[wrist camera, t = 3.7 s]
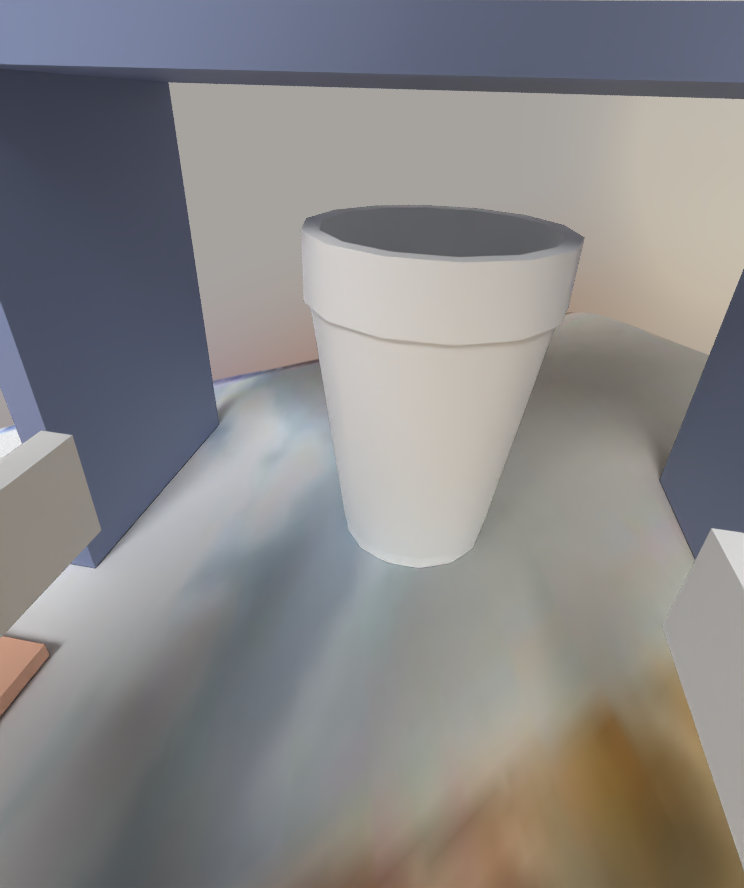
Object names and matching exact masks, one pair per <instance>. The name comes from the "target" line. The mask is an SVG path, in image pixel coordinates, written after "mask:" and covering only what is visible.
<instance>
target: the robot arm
mask: <svg viewBox="0 0 744 888" xmlns="http://www.w3.org/2000/svg"><path fill="white" fill-rule="evenodd" d="M100 531H101V527H100V524H99V520H98V517H97V514H96V511H95V507H94V504H93V501H92V498H91V494H90V491H89V488H88V484H87V481H86V478H85V475H84V471H83V468H82V465H81V462H80V458H79V455H78V452H77V448H76V445H75V442H74V439H73V435H68V434H61V433H54V432H48V431H40V432H38V433H37V434H36V435H34V436H33V437H31V438H30V439H28V440H27V441H26V442H24V443H23V444H21V445H20V446H18V447H17V448H16V449H14V450H13V451H11V452H10V453H9V454H7V455H6V456H4V457H3V458H1V459H0V638H1V637H2V636H3V635H4V634H5V633H6V632H7V631H8V630H9V628H10V627H11V626H12V625H13V624H14V623H15V622H16V621H17V620H18V619H19V618H20V617H21V616H22V615H23V614H24V612H25V611H26V610H27V609H28V608H29V607H30V606H31V605H32V604H33V603H34V602H35V601H36V600H37V599H38V598H39V596H40V595H41V594H42V593H43V592H44V591H45V590H46V589H47V588H48V587H49V586H50V585H51V584H52V583H53V582H54V580H55V579H56V578H57V577H58V576H59V575H60V574H61V573H62V572H63V571H64V570H65V569H66V568H67V567H68V565H69V564H70V563H71V562H72V561H73V560H74V559H75V558H76V557H77V556H78V555H79V554H80V553H81V552H82V551H83V549H84V548H85V547H86V546H87V545H88V544H89V543H90V542H91V541H92V540H93V539H94V538H95V537H96V536H97V535H98V533H99V532H100ZM662 628H663V631H664V634H665V637H666V640H667V643H668V646H669V649H670V652H671V655H672V658H673V661H674V664H675V667H676V670H677V673H678V676H679V679H680V681H681V684H682V687H683V690H684V693H685V696H686V699H687V702H688V705H689V708H690V711H691V714H692V717H693V720H694V723H695V726H696V729H697V732H698V735H699V738H700V741H701V744H702V747H703V750H704V753H705V756H706V759H707V762H708V765H709V768H710V771H711V774H712V777H713V780H714V783H715V786H716V789H717V792H718V795H719V798H720V801H721V804H722V807H723V810H724V813H725V816H726V819H727V822H728V825H729V828H730V831H731V834H732V837H733V840H734V843H735V846H736V849H737V852H738V855H739V858H740V861H741V864H742V867H743V870H744V533H741V532H734V531H728V530H721V529H714V528H711V530H710V532H709V534H708V536H707V538H706V540H705V542H704V544H703V546H702V548H701V550H700V552H699V554H698V556H697V558H696V560H695V562H694V564H693V566H692V568H691V570H690V572H689V574H688V576H687V578H686V580H685V582H684V584H683V586H682V588H681V590H680V592H679V594H678V596H677V598H676V600H675V601H674V603H673V605H672V607H671V609H670V611H669V613H668V615H667V617H666V619H665V621H664V623H663V625H662Z"/></svg>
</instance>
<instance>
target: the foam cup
mask: <svg viewBox="0 0 744 888" xmlns="http://www.w3.org/2000/svg"><path fill="white" fill-rule="evenodd" d="M583 242H584V237H583V236H581V235H580V234H578V233H576V232H575V231H573V230H571V229H570V228H568V227H566V226H564V225H561V224H558V223H554V222H550V221H546V220H542V219H538V218H534V217H530V216H527V215H521V214H513V213H506V212H499V211H492V210H485V209H477V208H463V207H462V208H461V207H447V206H432V205H390V206H389V205H388V206H387V205H385V206H367V207H358V208H348V209H340V210H339V209H338V210H333V211H330V212H326V213H322V214H319V215H316V216H312V217H309V218H306V220H305V222H304V225H303V227H302V229H301V246H302V270H303V293H304V294H303V295H304V302H305V303H306V304H307V305H308V306H309V307H310V308H311V314H312V319H313V325H314V332H315V338H316V343H317V349H318V356H319V362H320V368H321V374H322V380H323V386H324V392H325V398H326V404H327V410H328V416H329V422H330V428H331V434H332V440H333V446H334V452H335V458H336V464H337V470H338V476H339V482H340V488H341V494H342V500H343V506H344V512H345V518H346V519H347V521H348V530H349V531H350V533H351V534H352V536H353V537H354V539H355V540H356V542H357V543H358V545H359V546H360V547H361V548H362V549H364V550H365V551H367V552H369V553H371V554H372V555H374V556H376V557H378V558H379V559H381V560H383V561H385V562H386V563H392V564H398V565H403V566H409V567H415V568H424V567H430V566H436V565H442V564H448V563H452V562H453V561H455V560H456V559H458V558H459V557H461V556H462V555H464V554H465V553H467V552H469V551H470V550H472V549H473V547H474V544H475V542H476V540H477V537H478V535H479V533H480V530H481V527H482V525H483V523H484V520H485V518H486V515H487V512H488V510H489V507H490V504H491V502H492V499H493V496H494V493H495V491H496V488H497V485H498V482H499V480H500V477H501V474H502V471H503V469H504V466H505V463H506V461H507V458H508V455H509V452H510V450H511V447H512V444H513V441H514V439H515V436H516V433H517V430H518V428H519V425H520V422H521V419H522V417H523V414H524V411H525V409H526V406H527V403H528V400H529V398H530V395H531V392H532V389H533V387H534V384H535V381H536V378H537V376H538V373H539V370H540V367H541V365H542V362H543V359H544V357H545V354H546V351H547V348H548V346H549V343H550V340H551V337H552V335H553V332H554V329H555V328H556V327H559V326H560V324H561V322H562V320H563V318H564V316H565V314H566V312H567V309H568V307H569V303H570V298H571V294H572V289H573V286H574V281H575V277H576V272H577V268H578V264H579V260H580V255H581V251H582V247H583Z"/></svg>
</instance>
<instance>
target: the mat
mask: <svg viewBox="0 0 744 888" xmlns="http://www.w3.org/2000/svg"><path fill="white" fill-rule="evenodd" d="M49 656H50V655H49V653H48V651H47V649H46V647H45V644H40V643H35V642H30V641H25V640H20V639H15V638H10V637H5V636H2V637H1V638H0V716H1V715H2V714H3V713H4V711H5V710H6V709H7V708H8V706H9V705H10V704H11V703H12V702H13V700H14V699H15V698H16V697H17V695H18V694H19V693H20V692H21V690H22V689H23V688H24V687H25V685H26V684H27V683H28V682H29V680H30V679H31V678H32V677H33V676H34V674H35V673H36V672H37V671H38V669H39V668H40V667H41V666H42V664H43V663H44V662H45V661H46V659H47V658H48V657H49Z"/></svg>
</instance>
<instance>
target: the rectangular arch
mask: <svg viewBox="0 0 744 888" xmlns="http://www.w3.org/2000/svg"><path fill="white" fill-rule="evenodd" d="M168 82H177V83H213V84H245V85H280V86H315V87H349V88H351V87H352V88H383V89H385V88H386V89H418V90H452V91H453V90H454V91H487V92H521V93H523V92H524V93H556V94H557V93H558V94H590V95H592V94H593V95H625V96H659V97H694V98H729V99H744V1H577V0H568V1H567V0H565V1H564V0H0V388H1V390H2V393H3V395H4V398H5V401H6V403H7V406H8V408H9V411H10V413H11V416H12V419H13V421H14V424H15V426H16V429H17V432H18V434H19V437H20V439H21V442H22V444H23V443H24V442H26V441H27V440H28V439H30V438H31V437H33V436H34V435H36V434H37V433H38V432H40V431H48V432H54V433H61V434H68V435H73V439H74V442H75V445H76V448H77V452H78V455H79V458H80V462H81V465H82V468H83V471H84V475H85V478H86V481H87V484H88V488H89V491H90V494H91V498H92V501H93V504H94V507H95V511H96V514H97V517H98V520H99V524H100V527H101V531H100V532H99V533H98V535H97V536H96V537H95V538H94V539H93V540H92V541H91V542H90V543H89V544H88V545H87V546H86V547H85V548H84V549H83V551H82V552H81V553H80V554H79V555H78V556H77V557H76V558H75V559H74V560H73V561H72V562H71V563H70V564H74V565H80V566H86V567H92V568H96V566H97V565H98V564H99V563H100V562H101V561H102V559H103V558H104V557H105V556H106V555H107V554H108V552H109V551H110V550H111V549H112V548H113V547H114V546H115V544H116V543H117V542H118V541H119V540H120V539H121V537H122V536H123V535H124V534H125V533H126V532H127V530H128V529H129V528H130V527H131V526H132V525H133V523H134V522H135V521H136V520H137V519H138V518H139V517H140V515H141V514H142V513H143V512H144V511H145V510H146V508H147V507H148V506H149V505H150V504H151V503H152V501H153V500H154V499H155V498H156V497H157V496H158V494H159V493H160V492H161V491H162V490H163V489H164V488H165V486H166V485H167V484H168V483H169V482H170V481H171V479H172V478H173V477H174V476H175V475H176V474H177V472H178V471H179V470H180V469H181V468H182V467H183V465H184V464H185V463H186V462H187V461H188V460H189V459H190V457H191V456H192V455H193V454H194V453H195V452H196V450H197V449H198V448H199V447H200V446H201V445H202V443H203V442H204V441H205V440H206V439H207V438H208V437H209V435H210V434H211V433H212V432H213V431H214V430H215V428H216V427H217V426H218V425H219V421H218V415H217V408H216V401H215V394H214V388H213V381H212V374H211V368H210V361H209V354H208V347H207V341H206V334H205V327H204V320H203V313H202V307H201V300H200V293H199V286H198V279H197V273H196V266H195V259H194V253H193V246H192V239H191V232H190V225H189V219H188V212H187V205H186V199H185V192H184V185H183V178H182V171H181V165H180V158H179V151H178V145H177V138H176V131H175V125H174V117H173V111H172V104H171V97H170V90H169V84H168ZM660 482H661V484H662V487H663V489H664V491H665V493H666V495H667V498H668V500H669V502H670V504H671V507H672V509H673V511H674V513H675V515H676V518H677V520H678V522H679V524H680V526H681V529H682V531H683V533H684V535H685V538H686V540H687V542H688V544H689V546H690V549H691V551H692V553H693V555H694V557H695V560H696V558H697V556H698V554H699V552H700V550H701V548H702V546H703V544H704V542H705V540H706V538H707V536H708V534H709V532H710V530H711V528H714V529H721V530H728V531H734V532H741V533H744V269H743V272H742V275H741V277H740V280H739V282H738V285H737V287H736V290H735V292H734V295H733V297H732V300H731V302H730V305H729V307H728V310H727V312H726V315H725V317H724V320H723V322H722V325H721V327H720V330H719V333H718V335H717V337H716V340H715V342H714V345H713V348H712V350H711V352H710V355H709V357H708V360H707V362H706V365H705V367H704V370H703V372H702V375H701V377H700V380H699V382H698V385H697V387H696V390H695V392H694V395H693V397H692V400H691V403H690V405H689V408H688V410H687V413H686V415H685V418H684V420H683V423H682V425H681V428H680V430H679V433H678V435H677V438H676V440H675V443H674V445H673V448H672V450H671V453H670V455H669V458H668V460H667V463H666V465H665V468H664V470H663V473H662V475H661V478H660Z"/></svg>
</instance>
